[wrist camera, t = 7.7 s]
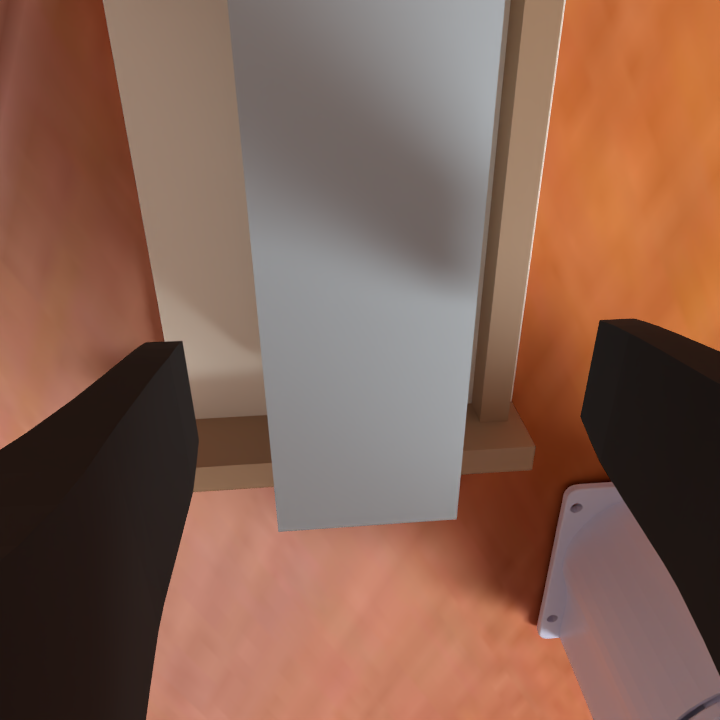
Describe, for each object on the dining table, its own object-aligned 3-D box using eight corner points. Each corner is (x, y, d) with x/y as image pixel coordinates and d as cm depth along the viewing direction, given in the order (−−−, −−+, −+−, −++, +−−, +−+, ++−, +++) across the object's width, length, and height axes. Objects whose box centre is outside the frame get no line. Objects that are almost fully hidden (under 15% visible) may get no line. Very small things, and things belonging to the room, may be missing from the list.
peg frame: (500, 426, 25) (529, 486, 22) (189, 445, 24) (174, 510, 21) (575, -158, 16) (640, -192, 13) (82, -163, 15) (29, -200, 12)
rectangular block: (419, 399, 21) (456, 519, 16) (281, 407, 21) (278, 531, 16) (440, -29, 15) (508, -36, 10) (246, -27, 15) (223, -35, 10)
